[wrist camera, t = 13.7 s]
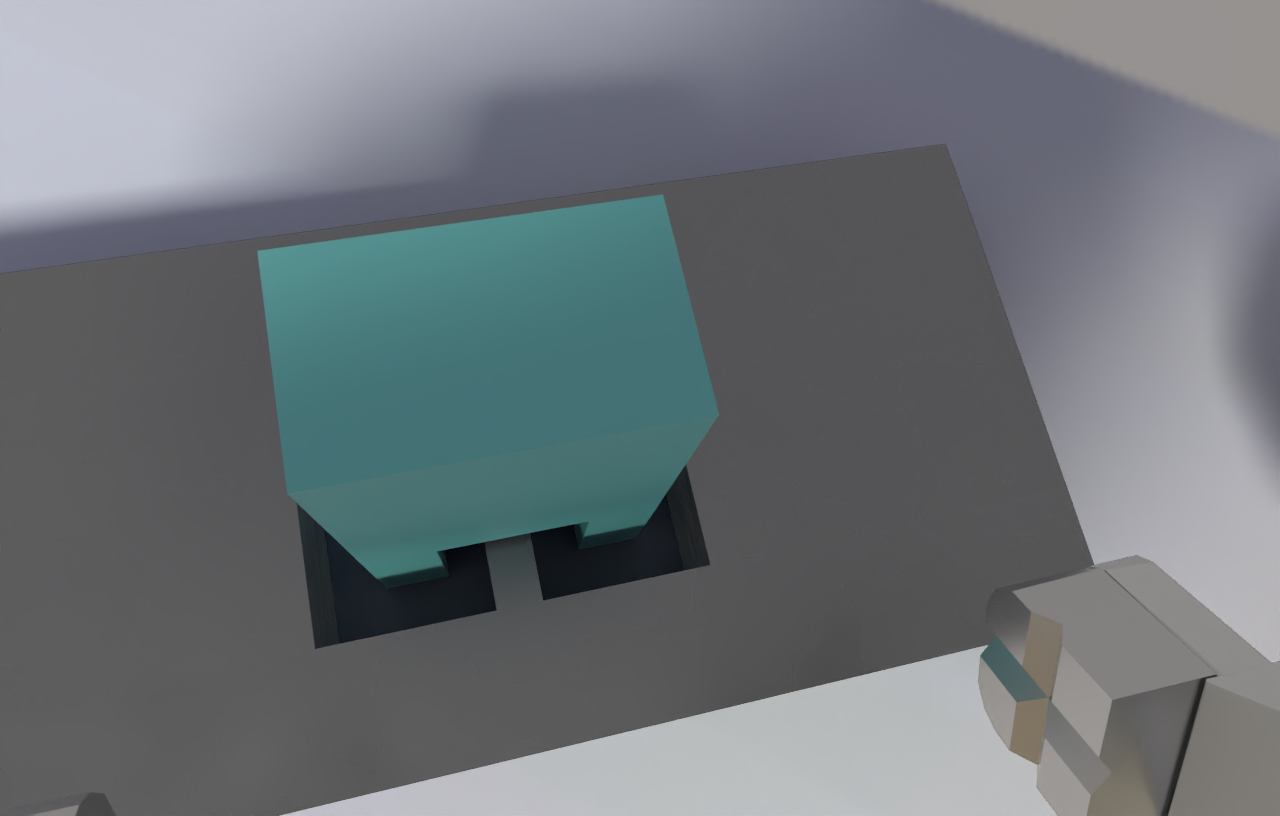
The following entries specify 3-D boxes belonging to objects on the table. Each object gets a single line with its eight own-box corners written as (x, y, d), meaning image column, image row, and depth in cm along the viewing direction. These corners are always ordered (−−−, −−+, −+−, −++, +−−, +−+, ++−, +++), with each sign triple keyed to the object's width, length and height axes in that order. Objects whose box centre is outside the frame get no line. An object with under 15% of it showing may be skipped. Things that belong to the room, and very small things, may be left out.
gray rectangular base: (901, 203, 23) (945, 143, 20) (1041, 626, 20) (1111, 614, 18) (-80, 348, 19) (-165, 296, 17) (-70, 893, 16) (-170, 923, 14)
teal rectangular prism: (605, 399, 20) (662, 194, 12) (636, 537, 20) (719, 414, 12) (365, 442, 19) (257, 250, 11) (386, 588, 19) (286, 493, 11)
